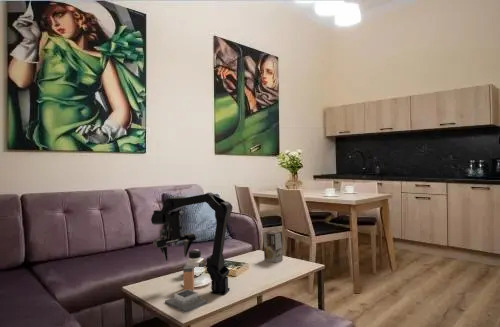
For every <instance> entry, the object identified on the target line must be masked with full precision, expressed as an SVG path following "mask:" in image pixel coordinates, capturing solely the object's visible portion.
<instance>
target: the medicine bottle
mask: <svg viewBox="0 0 500 327" xmlns="http://www.w3.org/2000/svg"><path fill="white" fill-rule="evenodd" d="M201 254H202V252H201V250H199V249H192V250H190V251H189V250H188V260H187V261H185V266H194V268H195V267H204V268H205V259H204V258H203V257H202V255H201Z"/></svg>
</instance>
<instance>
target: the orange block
mask: <svg viewBox="0 0 500 327" xmlns="http://www.w3.org/2000/svg"><path fill="white" fill-rule="evenodd" d="M182 269H183V270H182V272H183V290H186V289H189V290H192V291H194V288H195V276H194V266H186V265H184V266H183V268H182Z"/></svg>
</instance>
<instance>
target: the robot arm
mask: <svg viewBox="0 0 500 327" xmlns="http://www.w3.org/2000/svg"><path fill="white" fill-rule="evenodd" d="M203 203H206V204H207V205H208V206H209V207H210V208H211V210H213V211H214V218H215V221H216V224H215V230H214V240H213V245H212V246H213V247H212V252H211V255H209V256H208V257H207V258H206V265H204V268H206V272H207V273H208V275H209V277H210V280H211V282H210V283H211V291H210V294H215V295H222V296H223V295H226V294H227V293H228V292H229V291H230V287H229V278H228V277H229V273H230V269H229V268H228V267H227V266H226V265H225V257H224V254H223V253H224V246H225V241H226V233H227V225H228V221H229V220H230V217H231V215H232V211H233V205H232V203H231V202H229V201H226V200H224V199H223V198H221V197H219V196H217V195H216V194H215V193H213V192H206V193H204V194H203V193H202V194H198V195H191V196H173V197H169V198H166V199H165V200H164V204H163V206H162V208H161V209H155V210H153V213H152V215H151V218H150V221H151V224H152V225H154V226H159V225H160V226H164V225H167V226H166V229H160V230H159V236H160V238H155V239H154V240H153V242H152V245H153V247H156V248H158V249H159V250H160V251H161V253H162V255H163V257H164V260H165V262H167V261H168V246H167V244H170V243H171V244H172V243H177V242H180V241H181V242H182V243H183V253H184V254H183V255H184V257H187V255H188V254H189V249H190V248H191V246H192V244H193V243H194V241H196V240H197V236H196V234H195V233H193V232H188V233H183V235H182V229H183V227H182V226H181V225H182V224H181V215H184V214H185V212H184V211H183V210H182V208H184V207H186V206H191V205H196V204H197V205H198V204H203Z"/></svg>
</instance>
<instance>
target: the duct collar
mask: <svg viewBox="0 0 500 327" xmlns="http://www.w3.org/2000/svg"><path fill="white" fill-rule="evenodd" d="M208 303H209V301H208V300H206V299H204V298H202V297H199V292H197V291H194V290H193V291H192V290H189V289H186V290H184V289H183V290H181V291H179V292H176V293H173V297H171V298H169V299H168V298H167V299H165V300H164V304H167V305H169V306H171V307H172V308H174V309H177V310H180V311H181V312H183V313H185V314H186V313H188V312H190V311H192V310H194V309H197V308H199V307H201V306H204V305H206V304H208Z"/></svg>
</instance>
